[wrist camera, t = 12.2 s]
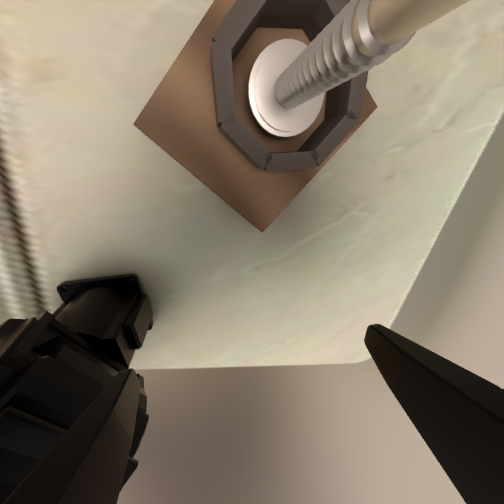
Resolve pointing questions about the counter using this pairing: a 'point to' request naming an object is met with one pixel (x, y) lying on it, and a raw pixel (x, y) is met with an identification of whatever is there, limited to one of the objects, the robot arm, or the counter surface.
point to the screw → (332, 59)
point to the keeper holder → (248, 107)
